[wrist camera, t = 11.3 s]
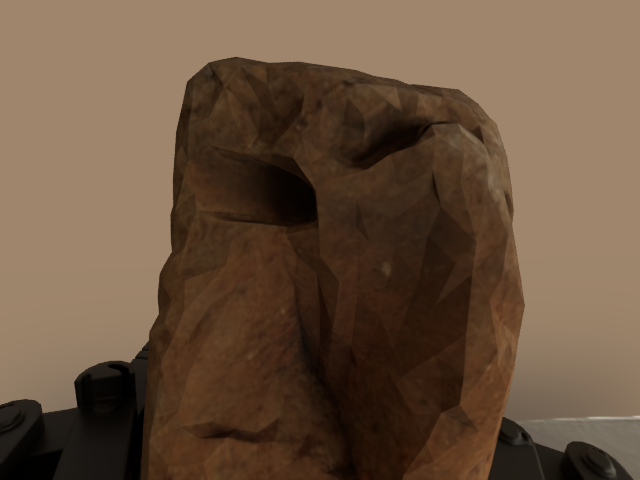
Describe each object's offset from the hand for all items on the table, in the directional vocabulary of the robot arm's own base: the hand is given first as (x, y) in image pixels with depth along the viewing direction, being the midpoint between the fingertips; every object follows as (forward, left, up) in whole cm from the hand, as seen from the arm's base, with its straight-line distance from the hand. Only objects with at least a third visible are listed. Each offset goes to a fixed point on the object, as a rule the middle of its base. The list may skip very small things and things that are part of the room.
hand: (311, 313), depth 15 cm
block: (0, -5, -11) cm, 12 cm away
